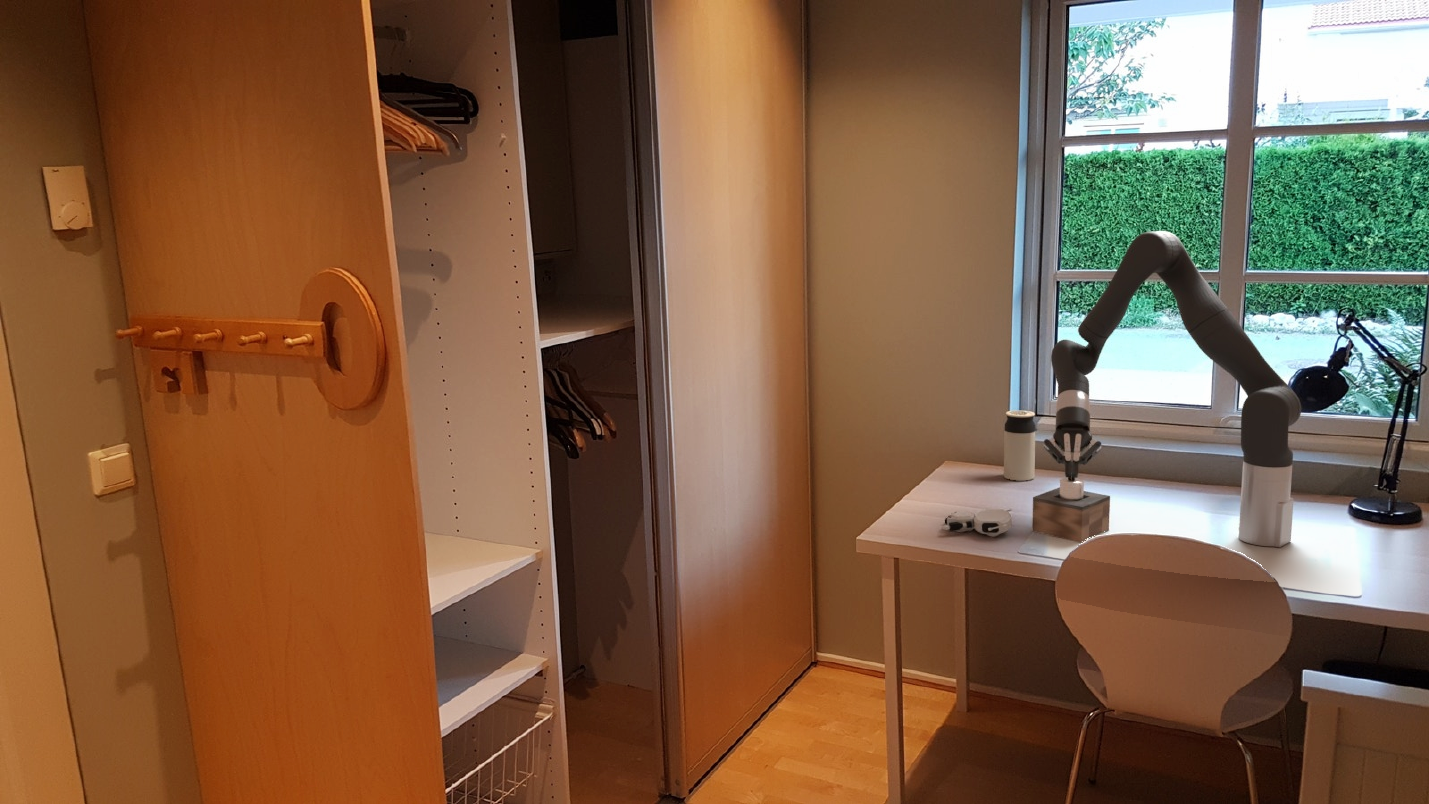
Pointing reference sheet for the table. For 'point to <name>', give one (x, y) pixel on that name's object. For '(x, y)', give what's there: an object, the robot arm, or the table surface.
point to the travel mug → (1019, 446)
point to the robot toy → (980, 522)
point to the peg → (1071, 489)
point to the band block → (1071, 515)
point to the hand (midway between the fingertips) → (1071, 478)
